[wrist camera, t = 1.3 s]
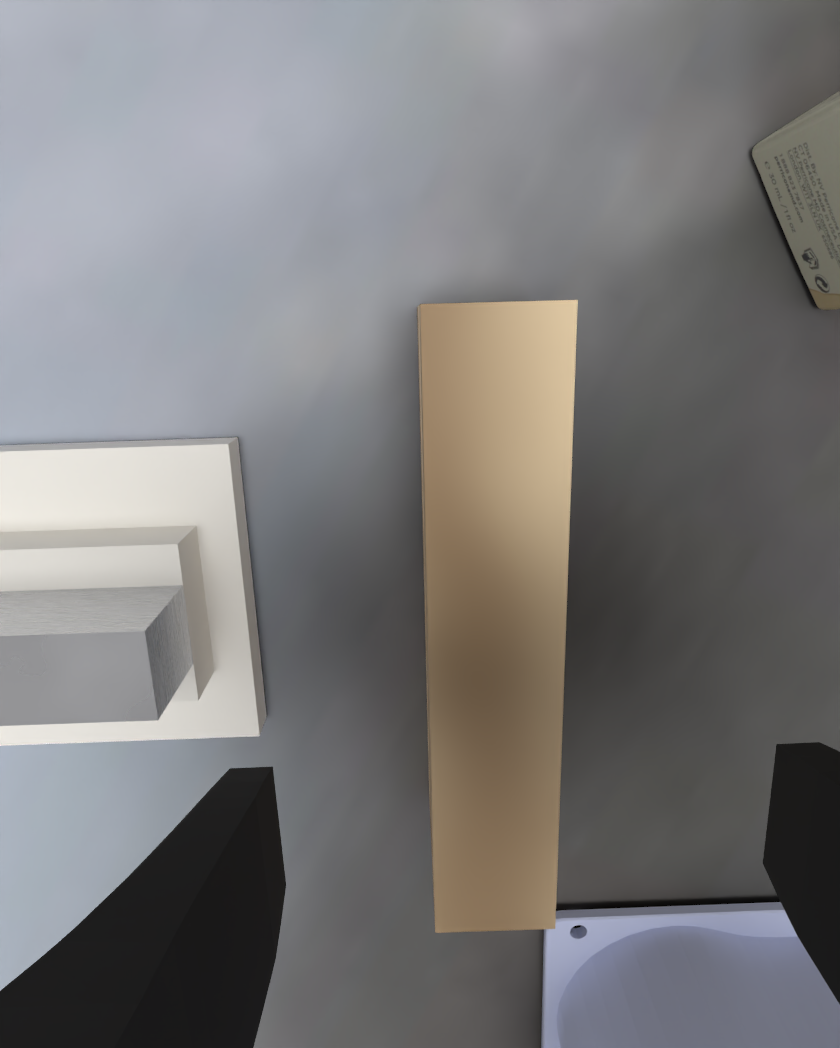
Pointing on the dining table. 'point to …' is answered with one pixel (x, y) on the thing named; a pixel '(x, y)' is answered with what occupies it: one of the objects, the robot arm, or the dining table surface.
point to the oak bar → (495, 601)
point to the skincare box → (808, 194)
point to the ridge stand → (126, 593)
